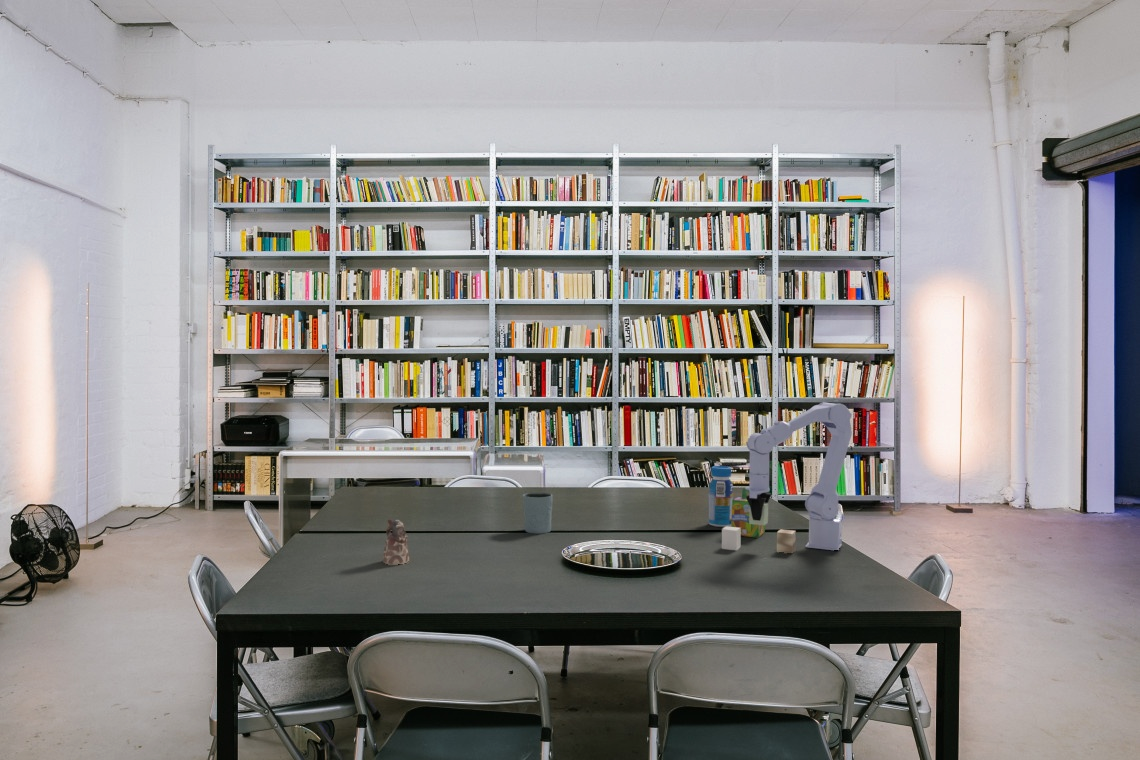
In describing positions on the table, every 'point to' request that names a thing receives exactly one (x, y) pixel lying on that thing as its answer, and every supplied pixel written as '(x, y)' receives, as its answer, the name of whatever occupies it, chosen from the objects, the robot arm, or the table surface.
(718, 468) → the beverage bottle
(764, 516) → the sage green block
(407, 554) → the figurine
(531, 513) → the blue-gray cup
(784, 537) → the birch block
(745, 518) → the chalk box
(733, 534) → the off-white block
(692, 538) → the table surface
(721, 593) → the table surface
